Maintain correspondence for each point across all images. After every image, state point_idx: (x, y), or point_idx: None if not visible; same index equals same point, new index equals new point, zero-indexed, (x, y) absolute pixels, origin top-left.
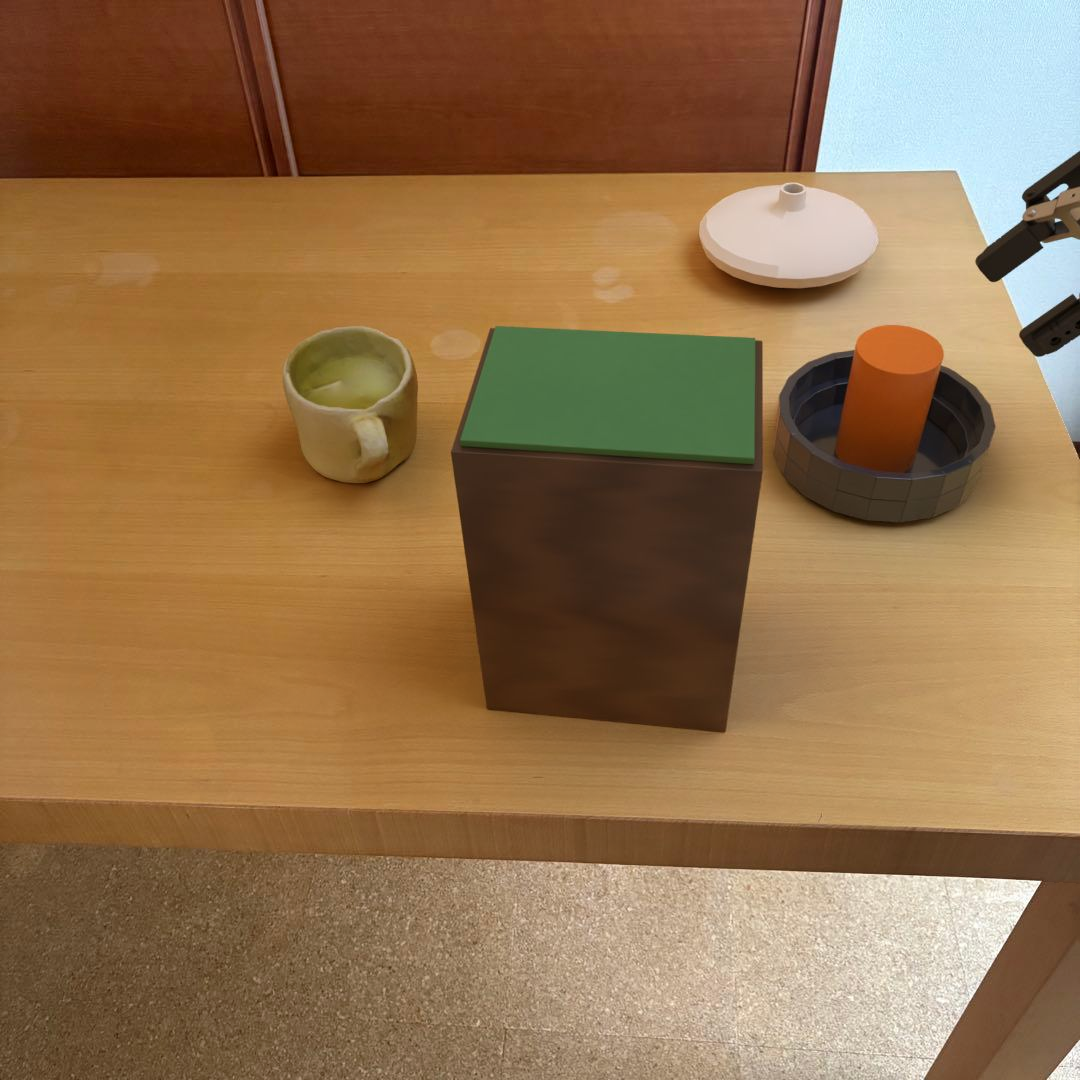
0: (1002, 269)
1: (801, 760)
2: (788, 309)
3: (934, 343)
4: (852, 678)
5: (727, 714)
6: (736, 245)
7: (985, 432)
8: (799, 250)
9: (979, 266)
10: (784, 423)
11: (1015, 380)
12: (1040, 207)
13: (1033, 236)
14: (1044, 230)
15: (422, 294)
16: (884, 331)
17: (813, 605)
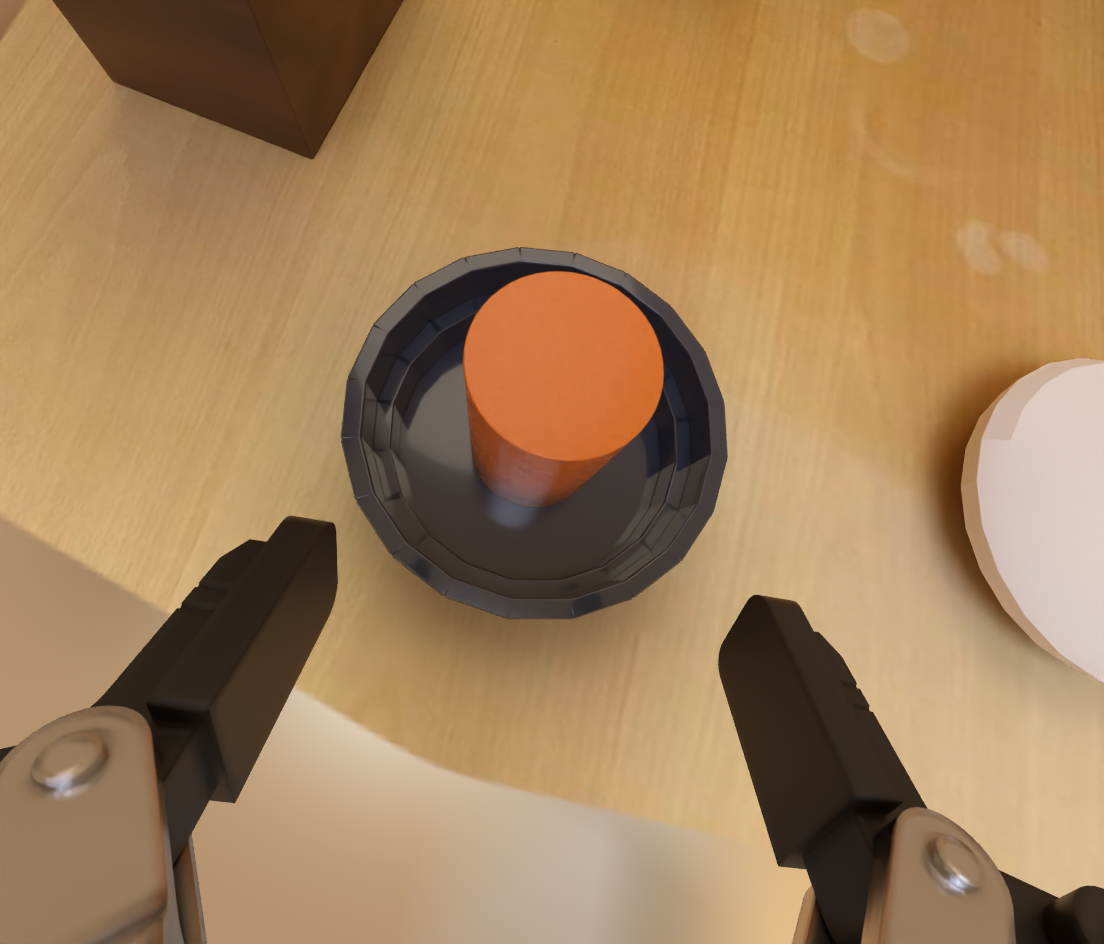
0: (741, 685)
1: (35, 138)
2: (921, 477)
3: (565, 446)
4: (130, 242)
5: (84, 42)
6: (1076, 389)
7: (432, 568)
8: (1055, 486)
9: (755, 599)
10: (551, 250)
11: (677, 785)
12: (980, 931)
13: (818, 826)
14: (843, 898)
15: (990, 30)
16: (640, 362)
17: (271, 249)
